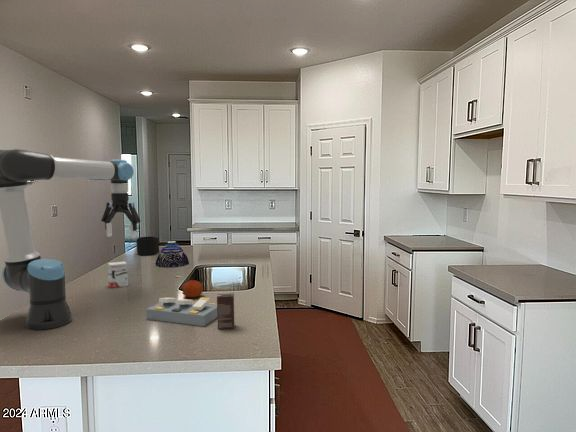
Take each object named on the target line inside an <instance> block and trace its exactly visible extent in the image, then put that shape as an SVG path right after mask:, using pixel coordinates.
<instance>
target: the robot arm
mask: <svg viewBox="0 0 576 432" xmlns="http://www.w3.org/2000/svg"><path fill="white" fill-rule="evenodd" d="M133 167H134V166H132V164H130V163H129V162H127V160H125V159H110V161H104V160H102V161H101V160H93V159H91V160H90V159H82V158H81V159H80V158H71V157H70V158H69V157H68V158H67V157H55V156H53V155H52V154H50V153H43V152H36V151H33V150H32V151H30V150H25V149H21V148H20V149H19V148H18V149H17V148H15V149H0V216H1V221H2V222H1V223H2V227H3V231H4V232H3V233H4V238H5V243H6V248H7V254H8V255H7V257H6V258H5V259H4V264H5V266H4V267H3V269H2V272H1V278H2V280H3V282H4V284H5V285H6V286H7V287H9V288H11V289H12V290H15V291H18V292H25V293H29V308H28V312H27V316H26V318H25V328H26V329H28V330H33V331H34V330H35V331H40V330H41V331H42V330H50V329H55V328H59V327H63V326H65V325H68V324H69V323H70V322H72V321H73V315H72V311H71V310H70V307H69V305H68V302H67V298H66V297H67V296H66V278H65V277H66V276H65V275H66V270H65V265H64V263H63V262H62V261H61V260H58V259H53V258H50V259H49V258H42V257H41V253H40V252H38V251H36V250H35V245H34V239H33V234H32V228H31V222H30V216H29V211H28V205H27V199H26V194H25V189H26V188H27V187H28V182H30V181H31V182H32V181H41V180H45V181H48V180H52V179H53V178H60V179H63V178H64V179H83V180H85V179H87V180H91V181H110V192H111V195H110V196H111V197H110V198H111V201H112V202H106V207H105V210H104V212H103V215H102V217H101V222H103V223H105V224H104V225H105V230H106V237H109V238H110V237H112V236H113V229H112V228H113V225H112V224H113V223H112V222H111V221H112V220H113V219H114V217H115V216H116V215H117V213H123V214H124V215H125V216H126V218H127V219H128V220H129V222H130V223H131V224H130V238H131V239H135V238H136V237H137V230H138V225H137V224H139V223H141V219H140V216H139V214H138V212H137V210H136V208H135V203H134V202H129V193H128V192H129V180H130V179H132V178H133V176H134V168H133Z"/></svg>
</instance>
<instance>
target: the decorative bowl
mask: <svg viewBox="0 0 576 432" xmlns="http://www.w3.org/2000/svg"><path fill="white" fill-rule="evenodd" d="M167 243H168V244H165V245H164V247H163V248H161V250H160V253H158V256H157V257H156V261H155V267H159V268H166V269H167V268H170V269H171V268H173V267H175V268H180V267H185V266H187V265H189V264H190V263H189V262H190V261H189V258H188V256H187V255H186V253H185V252H184V249H182V247H181V246H179V244H178V243H176V241H175V240H173V241H172V240H171V241H170V240H169V241H167ZM180 253H181V254H180Z"/></svg>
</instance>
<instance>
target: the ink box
mask: <svg viewBox="0 0 576 432" xmlns="http://www.w3.org/2000/svg"><path fill="white" fill-rule="evenodd" d="M107 273H108V274H107V276H108V277H107V279H108V280H107V281H108V287H109V288H110V289H113V288H120V287H128V286H129V280H128V279H129V276H128V274H129V273H128V263H127V261H116V262H108V263H107Z"/></svg>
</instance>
